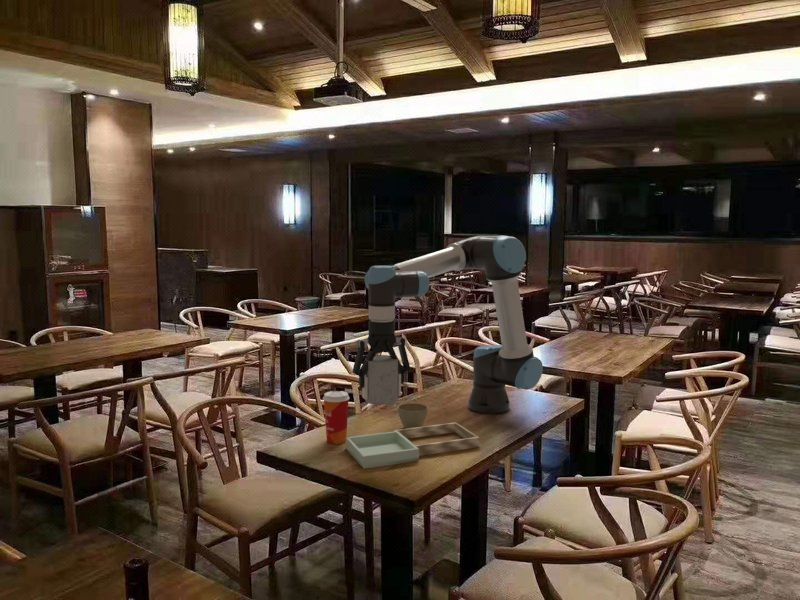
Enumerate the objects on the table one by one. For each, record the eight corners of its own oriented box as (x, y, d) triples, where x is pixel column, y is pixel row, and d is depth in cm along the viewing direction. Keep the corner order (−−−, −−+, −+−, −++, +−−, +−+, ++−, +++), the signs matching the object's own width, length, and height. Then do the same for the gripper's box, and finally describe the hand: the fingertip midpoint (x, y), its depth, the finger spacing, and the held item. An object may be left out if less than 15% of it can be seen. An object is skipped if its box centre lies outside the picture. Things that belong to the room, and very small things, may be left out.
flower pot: (425, 433, 203) (425, 412, 202) (394, 431, 205) (394, 410, 204) (430, 424, 213) (430, 403, 212) (400, 422, 215) (401, 401, 214)
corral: (455, 431, 206) (456, 422, 205) (479, 447, 191) (479, 437, 191) (394, 439, 198) (394, 430, 197) (413, 456, 183) (413, 446, 183)
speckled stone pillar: (402, 397, 186) (402, 356, 184) (391, 406, 177) (391, 363, 175) (372, 394, 189) (372, 354, 187) (360, 403, 180) (359, 360, 178)
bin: (397, 441, 195) (397, 431, 195) (418, 460, 180) (418, 448, 180) (345, 448, 189) (345, 437, 189) (363, 468, 174) (363, 456, 173)
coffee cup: (323, 436, 200) (323, 390, 198) (349, 436, 200) (349, 390, 199) (322, 446, 191) (322, 397, 190) (349, 445, 192) (349, 397, 190)
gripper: (412, 316, 187) (411, 389, 190) (340, 320, 179) (341, 396, 182) (422, 319, 180) (421, 396, 183) (348, 324, 172) (348, 403, 175)
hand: (381, 396), depth 182 cm, fingers closed on speckled stone pillar, 9 cm apart
